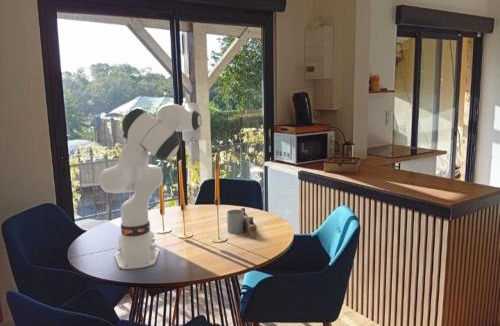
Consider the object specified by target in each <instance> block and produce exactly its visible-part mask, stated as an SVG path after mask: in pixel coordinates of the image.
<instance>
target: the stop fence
mask: <svg viewBox="0 0 500 326" xmlns="http://www.w3.org/2000/svg"><path fill="white" fill-rule="evenodd" d="M240 210H243V211H244V232H245V233H246V235H247V236H248V237H249V239H257V224H255V223H254V217H253V216H249V215H248V214H247V213H246V207H245V208H244V207H241V208H240Z"/></svg>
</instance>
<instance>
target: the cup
mask: <svg viewBox="0 0 500 326" xmlns="http://www.w3.org/2000/svg"><path fill="white" fill-rule="evenodd" d="M226 216H227V217H226V222H227V233H228V234H231V235H239V234H243V233H244V232H245V231H244V211H243V210H241V209H235V208H234V209H230V210H227V211H226Z"/></svg>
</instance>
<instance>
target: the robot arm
mask: <svg viewBox="0 0 500 326" xmlns="http://www.w3.org/2000/svg"><path fill="white" fill-rule="evenodd" d="M200 112H201V111H200V106H199V104H198V103H197V102H196V101H195V102H193V101H187V102H185V101H184V102H183V103H182V105H181V104H179V103H178V104H177V103H172V102H170V103H166V104H163V105H162V106H160V107H159V108H158V109H157V112H156V115H155V116H153V115H152V114H150V113H149V112H148V111H147V110H146V109H144V108H142V107H139V106H138V107H134V108H133V109H130V110H129V111H128V112H126V114H125V116H124V117H123V119H122V121H121V128H122V132H123V134H122V136H123V138H124V139H127V142H126V144H125V145H124V146H123V148H122V149H121V151H120V152H119V156H118V162H117V163H116V164H114V165H113V166H111V167H108V168H104V169H103V170H102V171H101V172H100V175H99V178H98V183H99V186H100V188H101V190H103V192H105V193H111V194H123V193H132V192H134V194H133V195H132V196H131V197H130V198H129V199H127V200H125V201H124V202H123V203H122V204H121V206H120V216H121V217H120V220H121V223H120V233H121V234H120V235H119V236H118V249H117V251H118V252H115V253H114V258H115V261H116V264H117V266H119V267H118V269H120V268H121V270H134V269H142V268H148V267H150V266H154V265H155V263H156V262H157V259H158V257H159V254H160V253H161V251H160V250H161V249H160V248H157V247H156V243H155V241H156V239H155V233H154V232H153V231H151V222H150V220H149V203H150V200H151V197H152V196H153V194H154V192H155V191H156V190H158V188H160V187H161V185H162V184H163V181H164V173H163V170H162V168H161V167H160V166H159V165H157V164H150V156H149V155H150V154H151V155H153V156H155V158H156V159H158V160H160V161H162V162H165V161H168V160H170V159H171V158H173V157H174V156H175V155H176V154H177V152H178V151H179V147H180V145H181V139H180V132H181V133H182V135H181V136H182V141H184V143H185V149H186V153H187V155H189V157H190V165H191V166H196V160H197V159H199V158H200V149H199V148H200V147H199V143H200V141H201V140H202V129H201V126H202V115H201V113H200ZM149 153H150V154H149Z"/></svg>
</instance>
